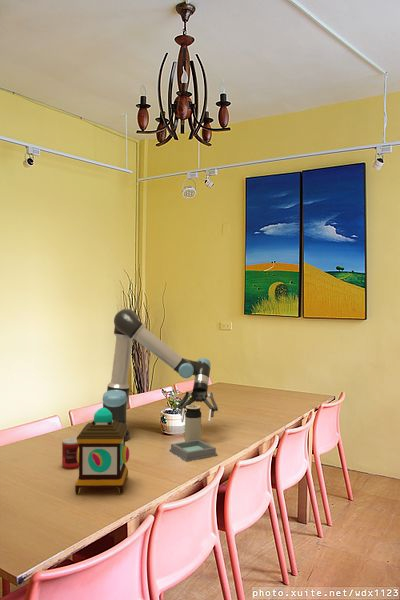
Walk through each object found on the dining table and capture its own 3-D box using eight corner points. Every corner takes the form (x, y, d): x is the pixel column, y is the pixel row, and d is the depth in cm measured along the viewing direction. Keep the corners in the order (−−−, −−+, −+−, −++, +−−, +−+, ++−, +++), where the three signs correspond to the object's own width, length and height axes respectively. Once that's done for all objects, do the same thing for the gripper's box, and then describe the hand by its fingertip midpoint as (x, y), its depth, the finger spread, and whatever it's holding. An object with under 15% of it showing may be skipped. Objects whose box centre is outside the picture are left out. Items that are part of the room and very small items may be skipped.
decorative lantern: (131, 476, 203) (132, 401, 202) (126, 496, 183) (126, 414, 183) (81, 476, 202) (81, 401, 202) (70, 496, 182) (70, 414, 182)
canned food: (73, 461, 219) (73, 436, 219) (84, 465, 214) (85, 440, 214) (58, 466, 213) (58, 440, 213) (69, 470, 208) (69, 444, 208)
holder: (186, 461, 221) (186, 453, 220) (169, 451, 234) (169, 443, 234) (217, 455, 229) (217, 448, 229) (199, 446, 242) (199, 439, 242)
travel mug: (187, 446, 243) (187, 408, 242) (183, 441, 250) (183, 405, 250) (203, 444, 245) (203, 407, 244) (198, 440, 253) (199, 404, 252)
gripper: (225, 390, 263) (221, 426, 249) (178, 388, 268) (172, 424, 253) (224, 382, 258) (220, 418, 244) (176, 380, 262) (169, 416, 248)
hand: (195, 421), depth 248 cm, fingers open, 13 cm apart
